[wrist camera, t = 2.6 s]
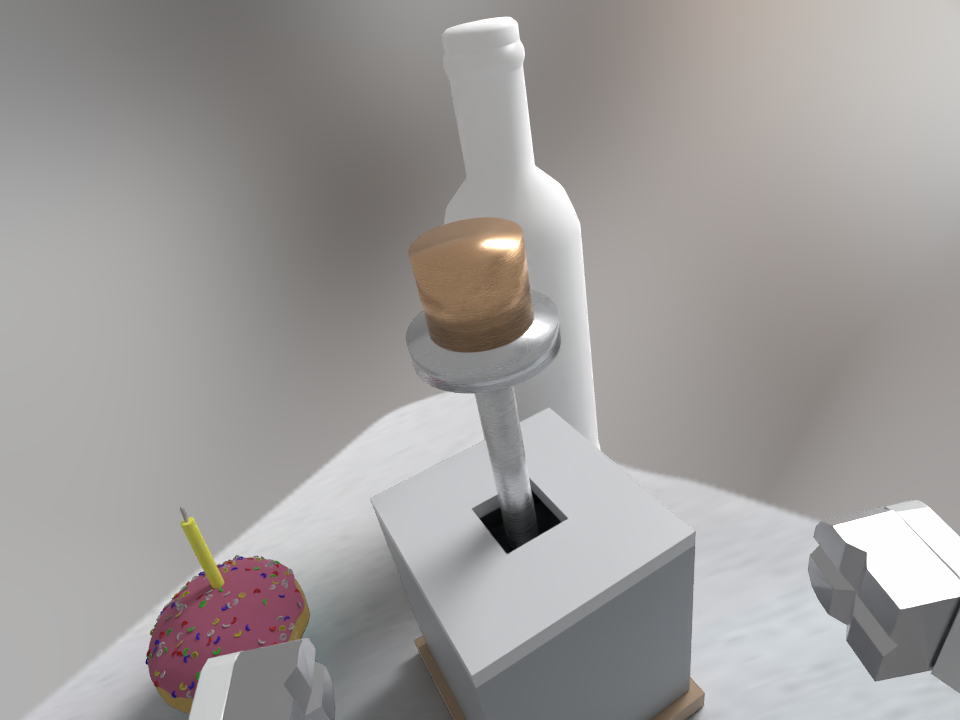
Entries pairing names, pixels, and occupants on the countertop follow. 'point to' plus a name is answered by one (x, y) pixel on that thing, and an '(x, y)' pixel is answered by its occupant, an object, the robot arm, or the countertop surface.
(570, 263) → the bottle
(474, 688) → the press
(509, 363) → the plunger
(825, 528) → the robot arm
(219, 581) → the cupcake
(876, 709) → the countertop surface
